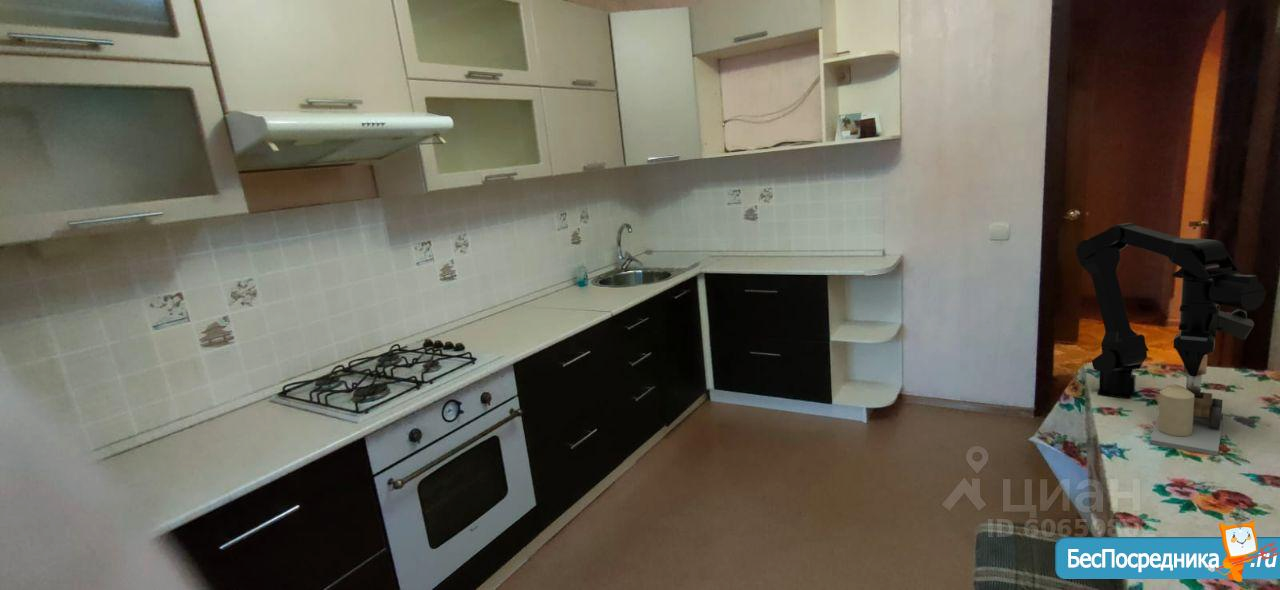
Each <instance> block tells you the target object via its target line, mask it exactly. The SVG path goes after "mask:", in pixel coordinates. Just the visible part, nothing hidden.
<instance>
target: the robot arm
mask: <svg viewBox="0 0 1280 590" xmlns="http://www.w3.org/2000/svg"><path fill="white" fill-rule="evenodd" d="M1128 246H1132V247H1136V248H1138V249H1142V250H1145V251H1148V252H1151V253H1155V254H1158V255H1160V256H1164V257H1166V258H1167V259H1169V261H1170V262H1171V263H1172V264H1173V265H1175V266H1178V267H1179V268H1180V269H1178V270H1177V271H1175V272H1174V273H1172V274H1171V276H1172V278H1178V279H1182V284H1181V285H1182V287H1181V301H1180V306H1179V312H1180V318H1179V324H1178V330H1179V332H1178V333H1177V334H1175V335H1174V339H1173V349H1174V350H1175V351H1176V352H1177V354H1178V356H1179V357H1180V359H1181V361H1182V364H1183V363H1184V365H1185V367H1186V369H1187V371H1188V373H1189V375H1190V376H1197V373H1198V370H1199V367H1200V364H1201V362H1202V359H1203V356H1204V355H1206V354H1207V355H1208V354H1211V353H1212V352H1214V350H1215V344H1216V338H1215V337H1217V336H1218V332H1222V333H1225V334H1227V335H1231V336H1234V337H1236V338H1237V339H1239V340H1246V339H1247V337H1248V336H1249V334H1250V333H1251V331H1252V330H1253V328H1254V327H1255V322H1254V321H1253V320H1252V319H1251V318H1248V314H1247V311H1254V310H1257V309H1258V308H1260V307H1261V305H1262V304H1264V301H1265V298H1266V296H1267V295H1266V294H1267V291H1266V290H1265V287H1264V285H1263V284H1262V283H1261V282H1259V281H1258V278H1259V277H1258V275H1254V274H1241V270H1240V268H1239V267H1238V265H1237V264H1236V262H1235V261H1234V259H1233V258H1232V257H1231V255H1230V254H1229V252H1228V251H1227V248H1226V246H1225V243H1224V242H1222V241H1220V240H1216V239H1208V238H1207V239H1206V238H1186V237H1180V236H1176V235H1173V234H1172V235H1171V234H1169V233H1168V234H1167V233H1164V232H1162V231H1157V230H1154V229H1150V228H1147V227H1143V226H1140V225H1137V224H1135V223H1132V222H1126V223H1120V224H1114V225H1112V226H1110V227H1109V228H1108V229H1107V230H1105V231H1103V232H1100V233H1098V234H1095V235H1094V236H1092V237H1090V238H1088V239H1083V240H1080V242H1079V243H1078V245H1077V246H1076V248H1075V249H1076V250H1075V251H1076V252H1075V253H1076V256H1077V259H1078V261H1079V263H1080V266H1081V267H1082V268H1083V269H1084V270H1085V271H1086V272H1087V273H1088V274H1089V275H1090V276H1091V280H1092V283H1093V287H1094V292H1095V295H1096V300H1097V302H1098V307H1099V311H1100V314H1101V320H1102V322H1103V327H1104V331H1105V333H1104V336H1103V338H1102V341H1101V344H1100V346H1101V353H1100V354H1099V355H1097V356H1096V357H1095V358H1094V359H1092V360H1091V365H1092V368H1093V370H1096V371H1099V381H1098V382H1099V387H1098V391H1097V395H1101V396H1108V397H1116V398H1124V399H1130V398H1131V397H1132V395H1134V394H1135V392H1136V386H1137V385H1136V381H1137V380H1136V379H1137V376H1136V375H1135V374H1134V370H1140V369H1141V367H1142V365H1143V363H1144V362H1145V360H1146V359H1148V352H1149V350H1150V349H1149V348H1148V347H1147V344H1146V338H1145V336H1144V334H1142V333H1141V334H1137V333H1136V332H1135V331H1134V330H1133V329H1132V328H1131V324H1130V321H1129V317H1128V312H1127V309H1126V305H1125V302H1124V298H1123V293H1122V290H1121V286H1120V283H1119V278H1118V275H1117V269H1118V266H1119V263H1120V261H1121V255H1120V254H1121V253H1120V251H1121V250H1123V249H1124V248H1126V247H1128ZM1220 306H1225V307H1230V308H1235V310H1233V311H1232V312H1229V311H1227V312H1226V311H1222V310H1220Z"/></svg>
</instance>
